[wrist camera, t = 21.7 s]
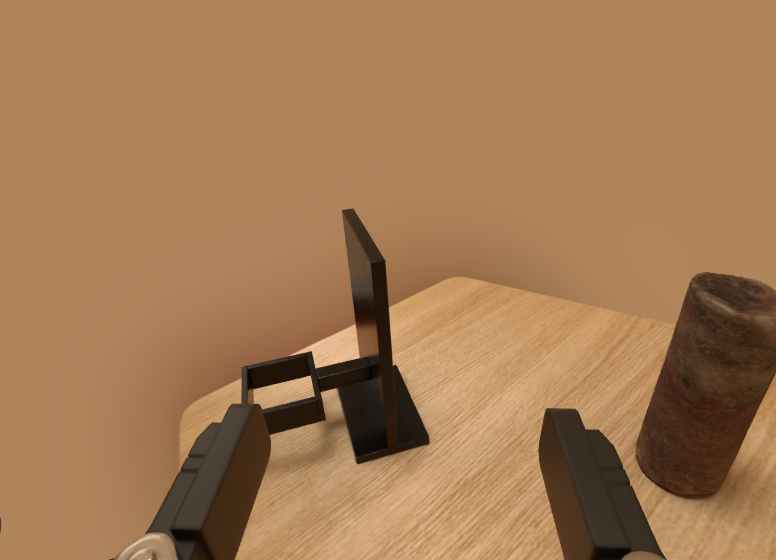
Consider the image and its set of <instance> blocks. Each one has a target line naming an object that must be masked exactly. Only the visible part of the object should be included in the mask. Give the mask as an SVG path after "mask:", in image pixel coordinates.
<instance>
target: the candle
mask: <svg viewBox="0 0 776 560" xmlns="http://www.w3.org/2000/svg"><path fill="white" fill-rule="evenodd" d="M775 373H776V291H775V290H773V289H772V288H771V287H770V286H768V285H766V284H764V283H762V282H760V281H757V280H753V279H748V278H743V277H736V276H733V275H726V274H715V273H709V272H705V273H699V274H697V275H696V276H694V277H693V278H692V279H691V281H690V284H689V287H688V290H687V293H686V296H685V299H684V302H683V305H682V309H681V312H680V315H679V318H678V321H677V324H676V327H675V330H674V334H673V337H672V340H671V342H670V345H669V348H668V351H667V354H666V358H665V361H664V364H663V367H662V369H661V372H660V375H659V378H658V381H657V384H656V386H655V389H654V392H653V395H652V398H651V401H650V404H649V407H648V409H647V412H646V416H645V419H644V421H643V424H642V428H641V431H640V434H639V437H638V441H637V455H638V458H639V462H640V466H641V468H642V470H643V471H644V473H645V474H646V475H647V476H648V477H649V478H650V479H652V480H653V481H654V482H656V483H658V484H660V485H662V486H664V487H666V488H667V489H669V490H671V491H673V492H675V493H678V494H710V493H713V492H714V491H715V490H717V489H719V488H720V487H721V485H722V484H723V482H724V480H725V478H726V476H727V474H728V472H729V470H730V468H731V466H732V464H733V462H734V460H735V458H736V456H737V454H738V451H739V449H740V447H741V445H742V442H743V440H744V438H745V436H746V434H747V431H748V429H749V427H750V425H751V423H752V421H753V419H754V417H755V415H756V412H757V410H758V408H759V406H760V404H761V402H762V400H763V398H764V396H765V394H766V392H767V390H768V388H769V386H770V384H771V382H772V380H773V378H774V376H775Z"/></svg>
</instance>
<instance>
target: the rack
mask: <svg viewBox="0 0 776 560" xmlns="http://www.w3.org/2000/svg"><path fill="white" fill-rule="evenodd" d="M342 215H343V222H344V231H345V238H346V246H347V255H348V264H349V271H350V280H351V288H352V297H353V305H354V313H355V321H356V329H357V338H358V346H359V354H360V358H359V359H354V360H350V361H346V362H342V363H337V364H333V365H329V366H325V367H320V368H316V369H315V364H314V360H313V355H312V351H310V352H307V353H302V354H297V355H293V356H288V357H284V358H280V359H275V360H271V361H266V362H262V363H258V364H253V365H249V366H245V367H242V404H254V396H253V389H257V388H261V387H265V386H269V385H273V384H278V383H282V382H286V381H290V380H294V379H299V378H303V377H307V376H311V379H312V384H313V389H314V394H315V397H311V398H307V399H303V400H299V401H295V402H291V403H287V404H283V405H279V406H275V407H271V408H267V409H263V410H262V412H263V415H264V418H265V422H266V425H267V429H268V432H269V435H271V434H275V433H279V432H282V431H286V430H290V429H294V428H298V427H301V426H305V425H309V424H313V423H317V422H321V421H325V420H326V418H325V413H324V408H323V402H322V397H321V393H320V392H323V391H327V390H331V389H335V388H337V390H338V394H339V397H340V401H341V405H342V409H343V413H344V417H345V420H346V424H347V428H348V432H349V436H350V440H351V443H352V447H353V451H354V455H355V459H356V463H357V464H359V463H362V462H365V461H369V460H372V459H376V458H379V457H383V456H386V455H390V454H393V453H397V452H400V451H404V450H407V449H411V448H414V447H418V446H421V445H425V444H428V443H429V435H428V433H427V431H426V429H425V427H424V424H423V422H422V420H421V418H420V416H419V413H418V411H417V409H416V407H415V405H414V403H413V400H412V398H411V396H410V394H409V392H408V389H407V387H406V385H405V383H404V381H403V378H402V376H401V374H400V372H399V370H398V367H397V365H394V366H393V360H392V347H391V333H390V319H389V306H388V292H387V278H386V264H385V259H384V258H383V256H382V254H381V253H380V251H379V250H378V248H377V246H376V245H375V243H374V241H373V240H372V238H371V237H370V235H369V233H368V232H367V230H366V228H365V227H364V225H363V224H362V222H361V220H360V219H359V217H358V215H357V214H356V212H355V211H354V209H347V210H342Z"/></svg>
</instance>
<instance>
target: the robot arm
mask: <svg viewBox="0 0 776 560" xmlns="http://www.w3.org/2000/svg"><path fill="white" fill-rule="evenodd" d="M270 452H271V440H270V435H269V432H268V429H267V425H266V422H265V418H264V415H263V412H262V408H261V406H260V405H259V404H232V405H231V406H230V407H229V408H228V410H227V412H226V414H225V416H224V418H223V420H222V422H221V423H211V424H210V425H209V426H208V427H207V428H206V429H205V430H204V431H203V432H202V433H201V434H200V435H199V436H198V437H197V439H196V441H195V443H194V445H193V447H192V448H191V450H190V452H189V454H188V458H186V460H185V462H184V464H183V465H182V467H181V472H180V473H178V475H177V477H176V479H175V481H174V483H173V484H172V486H171V488H170V490H169V492H168V494H167V496H166V497H165V499H164V502H163V503H162V505H161V507H160V509H159V511H158V513H157V515H156V516H155V518H154V520H153V522H152V524H151V526H150V527H149V529H148V531H147V532H146V533H145V535H143V536H140V537H138V538H136V539H135V540H133V541H132V542H130V543H129V544H128V545H126V546H125V547H124V548H123V549H122V550H121V551H120V552H119V554H118V555H117V556H116V557H115V558H113V559H110V560H235V557H236V554H237V552H238V549H239V546H240V543H241V540H242V537H243V534H244V531H245V528H246V525H247V522H248V520H249V517H250V514H251V511H252V508H253V505H254V502H255V499H256V496H257V493H258V490H259V487H260V485H261V482H262V479H263V476H264V473H265V470H266V467H267V464H268V461H269V457H270ZM539 462H540V467H541V472H542V475H543V479H544V483H545V487H546V491H547V494H548V498H549V502H550V506H551V510H552V514H553V517H554V521H555V525H556V529H557V533H558V536H559V540H560V544H561V548H562V552H563V556H564V559H565V560H667V559H666V558H665V556H664V555H663V553H662V552H661V550H660V548H659V546H658V544H657V541H656V539H655V537H654V535H653V533H652V530H651V528H650V526H649V524H648V521H647V519H646V517H645V515H644V512H643V510H642V508H641V506H640V503H639V501H638V499H637V497H636V494H635V492H634V490H633V488H632V486H630V481H629V479H628V476H627V474H626V472H625V470H623V465H622V463H621V461H620V458H619V456H618V454H617V452H616V449H615V447H614V446H613V445H612V444H611V443H610V441H609V440H608V439H607V438H606V437H605V436H604V435H603V434H602V433H601V432H600V431H599V430H585V428H584V425H583V422H582V420H581V417H580V415H579V413H578V411H577V410H576V409H557V408H547V409H546V411H545V414H544V420H543V425H542V430H541V436H540V441H539Z"/></svg>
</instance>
